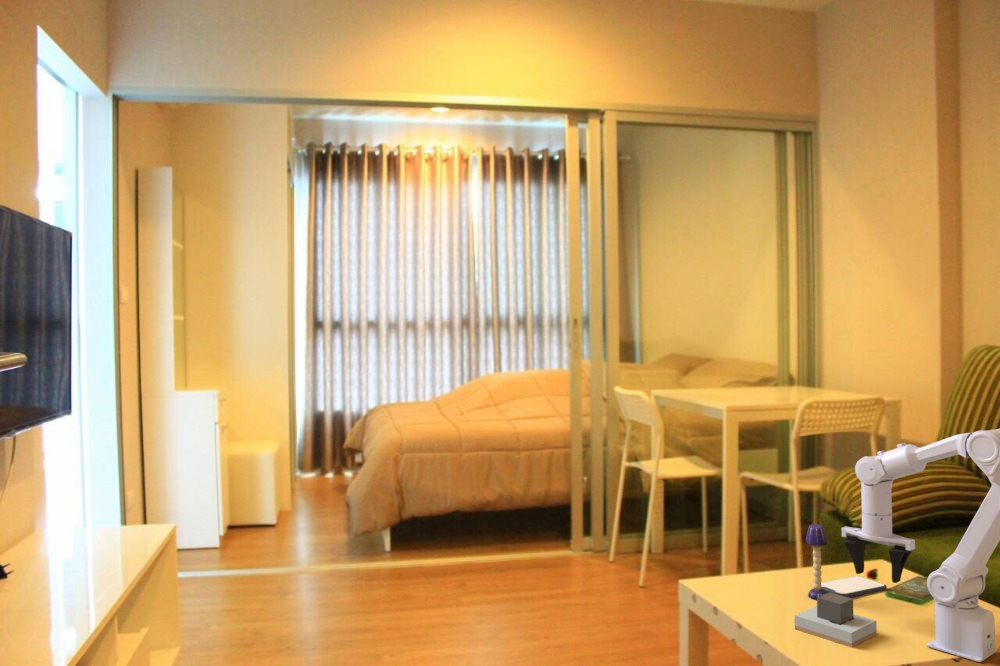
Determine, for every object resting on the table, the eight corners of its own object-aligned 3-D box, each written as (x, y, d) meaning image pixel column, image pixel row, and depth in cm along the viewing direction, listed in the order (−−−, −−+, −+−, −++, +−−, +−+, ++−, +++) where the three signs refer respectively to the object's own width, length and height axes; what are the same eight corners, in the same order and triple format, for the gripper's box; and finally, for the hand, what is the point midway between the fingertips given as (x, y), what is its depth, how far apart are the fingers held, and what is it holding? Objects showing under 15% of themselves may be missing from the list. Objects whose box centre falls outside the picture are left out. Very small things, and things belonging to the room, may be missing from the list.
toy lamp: (830, 601, 171) (829, 528, 171) (808, 600, 172) (807, 527, 172) (825, 594, 176) (824, 523, 176) (804, 593, 177) (803, 522, 177)
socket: (876, 634, 152) (876, 620, 152) (851, 647, 146) (851, 632, 146) (820, 617, 162) (820, 604, 162) (794, 628, 156) (794, 615, 156)
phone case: (857, 581, 187) (811, 590, 180) (857, 575, 187) (811, 583, 180) (889, 592, 179) (843, 602, 172) (889, 585, 179) (842, 595, 172)
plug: (853, 626, 154) (853, 598, 154) (841, 632, 150) (840, 604, 151) (830, 619, 158) (829, 592, 158) (817, 624, 154) (816, 597, 154)
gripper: (921, 516, 156) (922, 581, 156) (852, 504, 167) (853, 565, 167) (905, 521, 151) (906, 589, 151) (836, 509, 163) (837, 571, 163)
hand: (877, 577), depth 159 cm, fingers open, 7 cm apart
